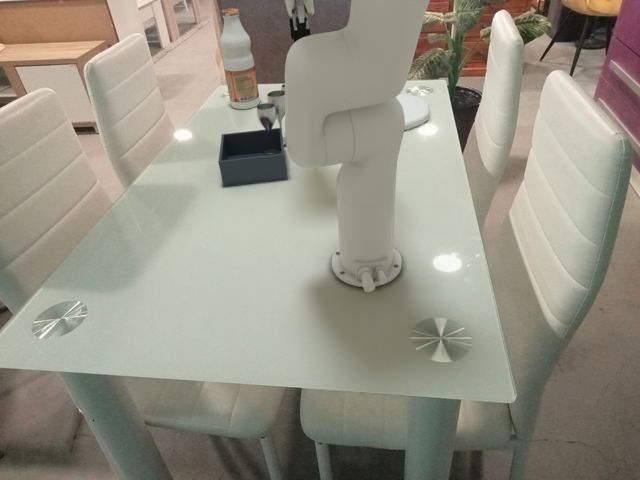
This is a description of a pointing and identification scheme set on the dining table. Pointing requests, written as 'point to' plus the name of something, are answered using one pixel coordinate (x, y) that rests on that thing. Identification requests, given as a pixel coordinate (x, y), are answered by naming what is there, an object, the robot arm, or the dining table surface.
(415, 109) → the decorative plate
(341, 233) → the robot arm
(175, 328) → the dining table surface
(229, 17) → the fruit juice
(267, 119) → the goblet set
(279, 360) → the dining table surface
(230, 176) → the bin
